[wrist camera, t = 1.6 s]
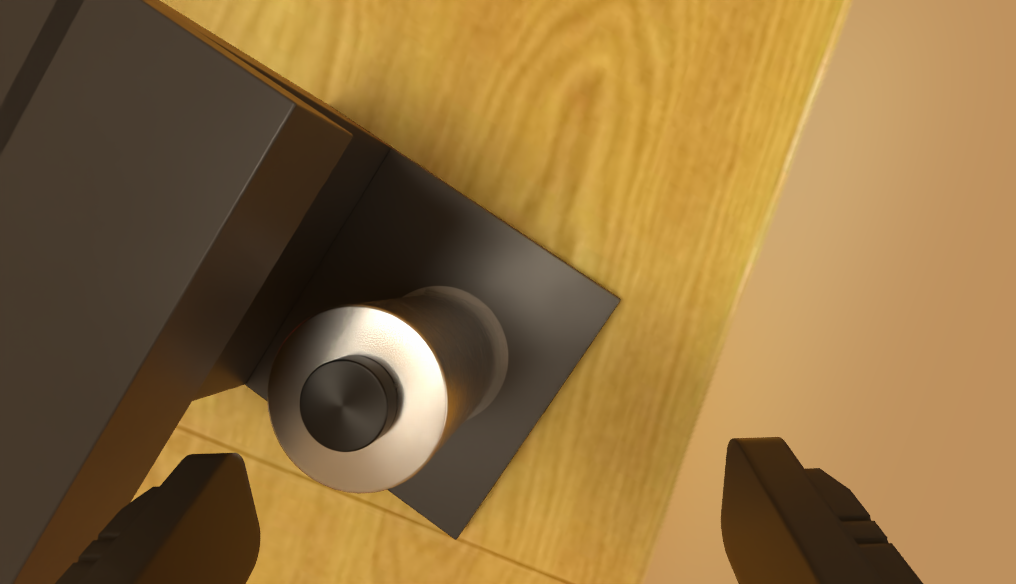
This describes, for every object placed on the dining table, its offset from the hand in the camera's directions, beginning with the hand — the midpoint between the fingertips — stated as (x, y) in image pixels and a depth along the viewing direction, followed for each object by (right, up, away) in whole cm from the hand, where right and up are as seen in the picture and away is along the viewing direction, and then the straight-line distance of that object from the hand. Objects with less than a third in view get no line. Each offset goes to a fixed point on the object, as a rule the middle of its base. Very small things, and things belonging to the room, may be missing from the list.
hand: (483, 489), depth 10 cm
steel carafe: (-3, 0, +21) cm, 21 cm away
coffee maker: (-6, +2, +23) cm, 24 cm away
